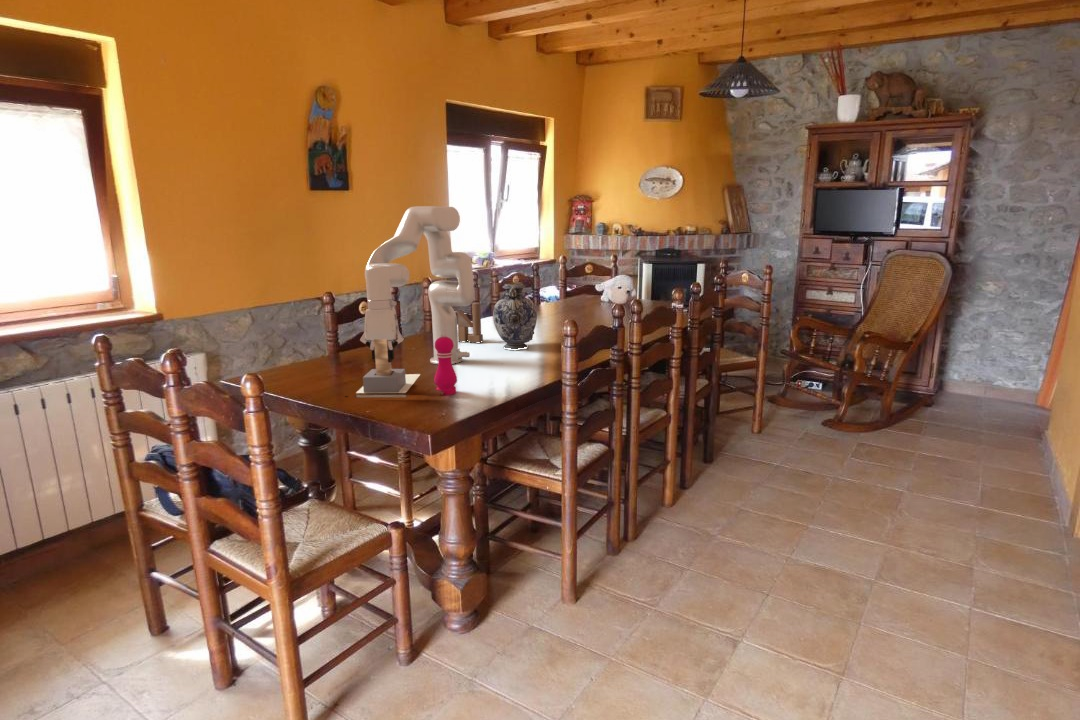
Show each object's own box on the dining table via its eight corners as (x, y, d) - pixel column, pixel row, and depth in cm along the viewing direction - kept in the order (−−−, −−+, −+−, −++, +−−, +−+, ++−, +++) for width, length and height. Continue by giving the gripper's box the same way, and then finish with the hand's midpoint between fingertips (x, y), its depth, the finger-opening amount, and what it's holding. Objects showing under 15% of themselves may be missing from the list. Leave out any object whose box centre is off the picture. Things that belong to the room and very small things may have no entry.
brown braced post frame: (462, 340, 294) (460, 301, 290) (483, 342, 290) (482, 302, 286) (458, 342, 290) (456, 302, 286) (479, 343, 286) (478, 303, 282)
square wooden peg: (391, 372, 210) (389, 336, 208) (388, 375, 207) (386, 339, 204) (379, 372, 211) (377, 336, 208) (376, 375, 207) (373, 339, 204)
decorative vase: (536, 353, 266) (534, 285, 260) (491, 353, 267) (489, 286, 261) (538, 343, 287) (537, 280, 280) (497, 343, 287) (494, 280, 281)
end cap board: (420, 378, 228) (419, 360, 226) (406, 397, 204) (404, 377, 203) (375, 378, 228) (374, 360, 226) (355, 397, 204) (354, 377, 203)
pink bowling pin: (442, 389, 213) (439, 329, 209) (461, 391, 211) (459, 330, 206) (430, 394, 207) (427, 333, 202) (450, 396, 204) (447, 334, 200)
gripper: (408, 303, 207) (411, 358, 211) (357, 303, 207) (360, 359, 211) (403, 306, 200) (406, 363, 204) (350, 306, 200) (354, 364, 204)
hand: (383, 360), depth 208 cm, fingers closed on square wooden peg, 4 cm apart
